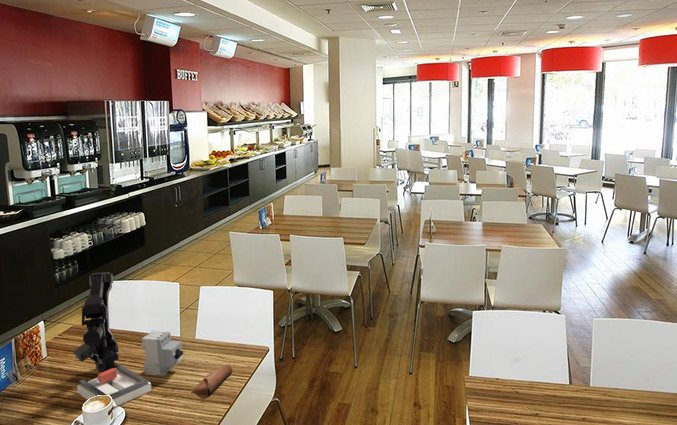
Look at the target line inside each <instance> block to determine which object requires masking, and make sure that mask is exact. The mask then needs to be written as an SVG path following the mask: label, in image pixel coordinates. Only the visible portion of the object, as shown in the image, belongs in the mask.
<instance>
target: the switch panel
mask: <svg viewBox="0 0 677 425" xmlns="http://www.w3.org/2000/svg"><path fill="white" fill-rule="evenodd" d="M115 370H116V372H117V378H114V379H112V380H111V385H109V384H107V383H106V382H105V383H102V384H101V383H100V382H98V377H96V378H93V379H91V380H88V381H87V382H88V383H90V384H91V385H93V386H94V387H96V388H97V389H99V390H100V391H102V392H104V393H105V394H107V395H111V394H113V393H115V392H117V391H120V390H122V389H124V388H127V387H129V386H131V385H134V384H136V383H138V382H137V381H136V380H134V379H132V378H130V377H129V376H127V375H125V374H123V373H122V372H120V371H118V370H117V369H115ZM76 387H77V388H76V389H77V394H79V395H80V396H81V397H83V398H84V399H85V400H87V399H89V398H91V397H94V396H96V395H94V394H93V393H91V392H90V391H88V390H87V389H85V388H84V387H82V386H81V385H80V384H78V385H76ZM152 390H153V389H152V383H151V382H150V381H148V385H145V386H143V387H141V388H139V389H136V390H134V391H132V392H130V393H127V394H125V395H123V396H121V397H118V398H116V399H114V400H113V401H114V402H115V404H116V405H119V406H121V405H124V404H125V403H127V402H129V401H131V400H134V399H136V398H139V397H140V396H142V395H145V394H146V393H149V392H152Z"/></svg>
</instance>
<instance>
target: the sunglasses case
mask: <svg viewBox="0 0 677 425" xmlns="http://www.w3.org/2000/svg"><path fill="white" fill-rule="evenodd" d="M232 372H233V368H232V366H231V365H229V364H228V365H225V366H222V367H219V368H217V369H215V370H213V371H211V372H210V373H207V375H206V376H204V377H203V379H202V380H201V381H200V382H199V383H198V384H197V385H196V386H195V387H194V388H193V389H192V390H191V392H190V393H191V394H195V395H196V394H197V395H202V396H209V397H210V396H211V395H212V394H213V393H214V392H215V390H216V389H217V388H218V387H219V386H220V385H221V384H222V383H223V382H224V380H226V379H227V378H228V377H229V376H230V375H231V374H232Z"/></svg>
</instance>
